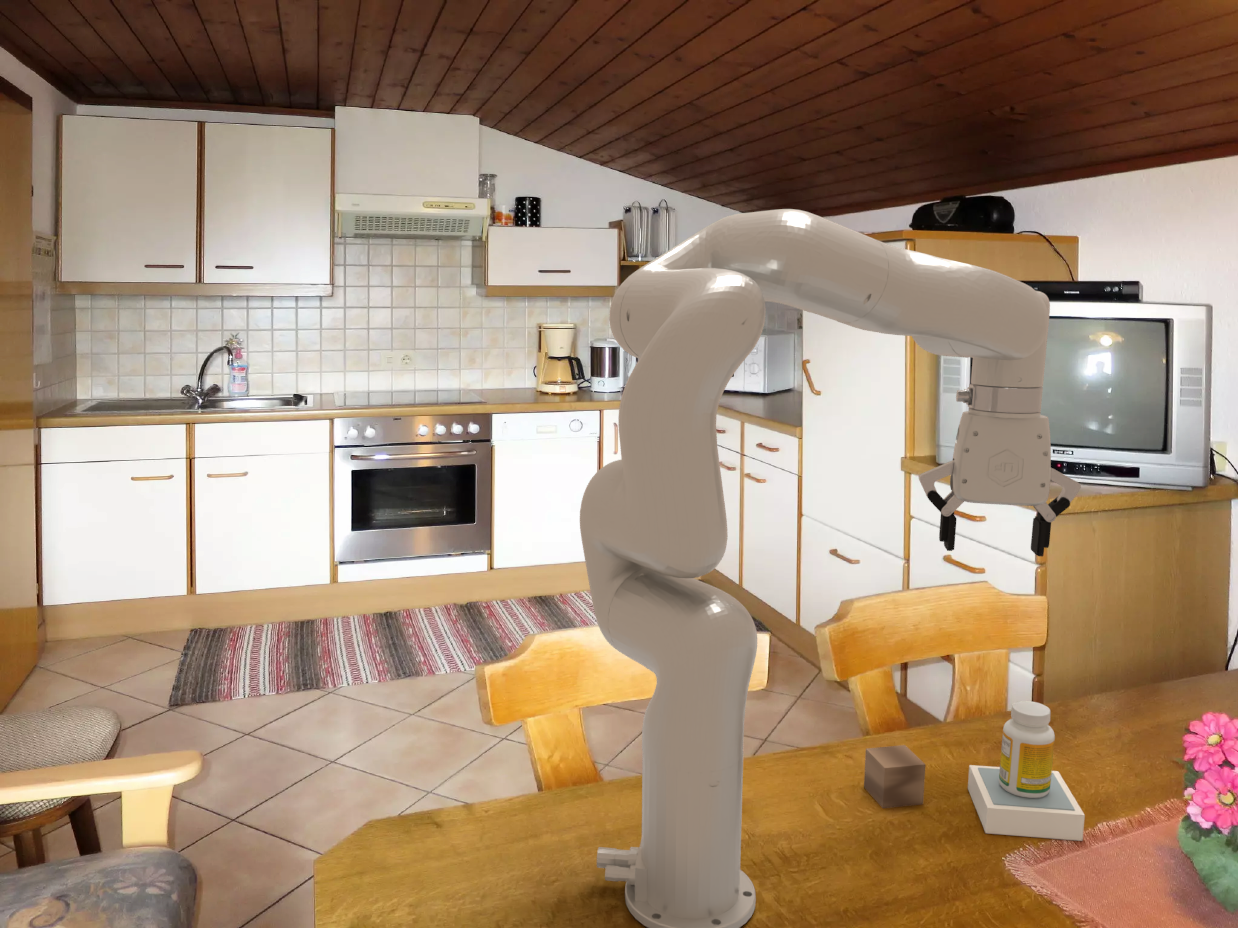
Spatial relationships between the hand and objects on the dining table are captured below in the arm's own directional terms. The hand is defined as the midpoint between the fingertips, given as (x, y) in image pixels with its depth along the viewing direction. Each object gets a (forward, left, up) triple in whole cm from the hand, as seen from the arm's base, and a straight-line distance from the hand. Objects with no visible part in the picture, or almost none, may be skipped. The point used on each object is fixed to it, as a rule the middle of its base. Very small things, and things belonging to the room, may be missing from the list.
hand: (992, 550), depth 114 cm
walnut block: (-10, -4, -29) cm, 31 cm away
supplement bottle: (+4, -6, -26) cm, 27 cm away
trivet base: (+4, -6, -29) cm, 30 cm away
